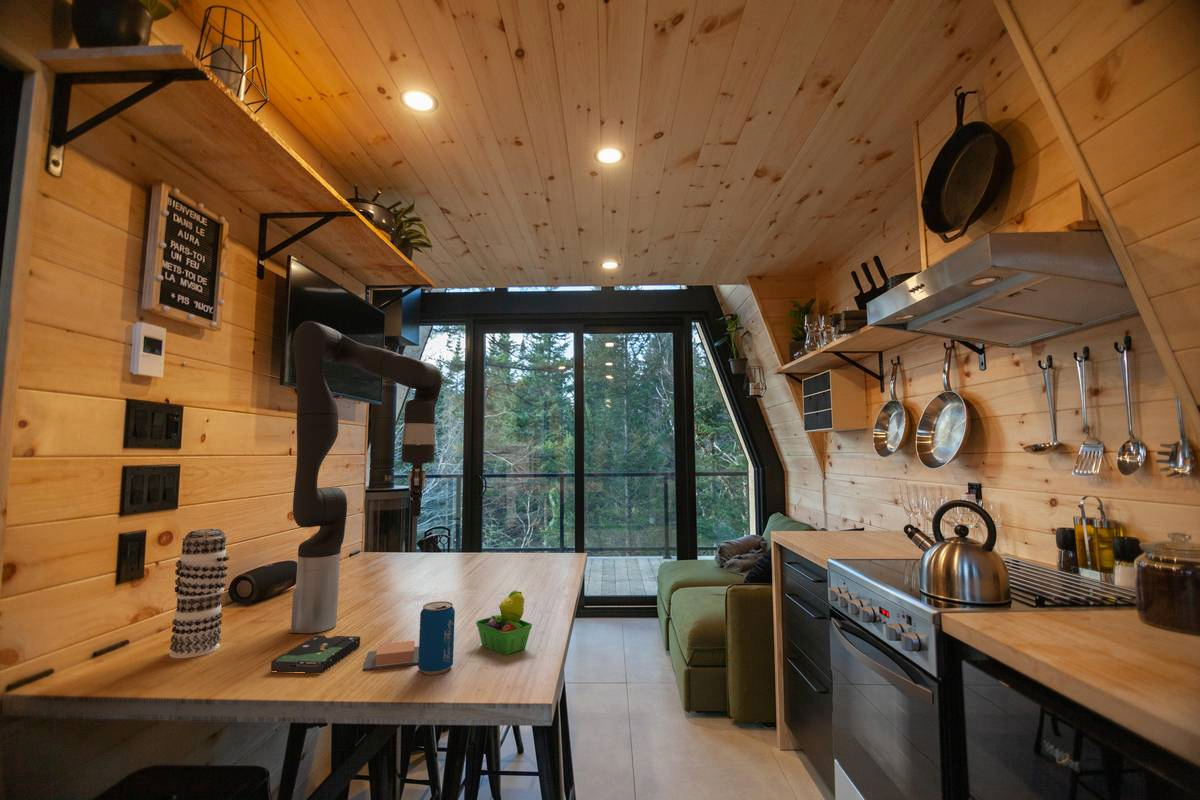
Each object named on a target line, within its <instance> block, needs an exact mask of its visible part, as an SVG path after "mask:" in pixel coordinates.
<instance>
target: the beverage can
mask: <svg viewBox="0 0 1200 800" xmlns="http://www.w3.org/2000/svg"><path fill="white" fill-rule="evenodd" d="M453 606H454V604H453V602H450V601H445V600H444V601H443V600H442V601H441V600H440V601H432V602H427V603H426V604H423V606H422V610H421V611H420V613H419V614H420V615H419V616H420V617H419V635H418V636H419V638H418V639H419V641H418V647H419V659H418V665H417V666H418V669H419V670H420V671H421V672H422V673H423V674H425V675H430V676H431V675H439V674H443V673H445V672H447V671H448V670H449V669H450V668H451V667H452V666H453V665H454V649H455V648H454V647H455V646H454V645H455V643H454V642H455V618H456V617H455V615H456V614H455V613H456V610H455V608H454V607H453Z"/></svg>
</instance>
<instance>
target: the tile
mask: <svg viewBox="0 0 1200 800" xmlns="http://www.w3.org/2000/svg"><path fill="white" fill-rule="evenodd" d="M415 643H416V642H415V640H407V641H399V642H390V643H389V642H388V643H380V644H378V645H377V649H376V651H377V653H376V663H375V667H376V666H385V665H394V664H403V663H412V662H414V647H416V646H415V645H416V644H415Z"/></svg>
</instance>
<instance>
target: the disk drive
mask: <svg viewBox="0 0 1200 800" xmlns="http://www.w3.org/2000/svg"><path fill="white" fill-rule="evenodd" d="M360 645H361V636H357V635H356V636H355V635H352V636H348V635H334V636H332V637H327V636H326V635H314V636H312V637H310V638H308V639H306V640H305V641H304V642H302V643H299V645H297V646H295V647H294V648H291V649H290V650H288V651H286V652H285V653H283V654H281V655H279V656H277V658H274V659H273V660H271V662H270V672H271V671H277V672H305V673H323V672H324V671H325V670H327V669H328V668H330V667H331V666H332V667H333V665H334V664H335V665H337V664H338V663H339V662H341V661H342V660H343V659H344V657H345V658H346V657H348V656H349V655H350V654H351V652H352V651H353V652H354V650H355V649H356V650H357V649H358V647H359V646H360ZM360 647H361V646H360ZM360 647H359V648H360ZM356 650H355V651H356ZM353 652H352V653H353ZM348 654H349V655H348ZM341 659H342V660H341ZM340 660H341V661H340ZM338 661H339V662H338ZM337 662H338V663H337ZM335 665H334V666H335ZM332 667H331V668H332ZM331 668H330V669H331ZM328 670H329V669H328ZM328 670H327V671H328ZM325 672H326V671H325ZM325 672H324V673H325ZM324 673H323V674H324Z"/></svg>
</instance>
